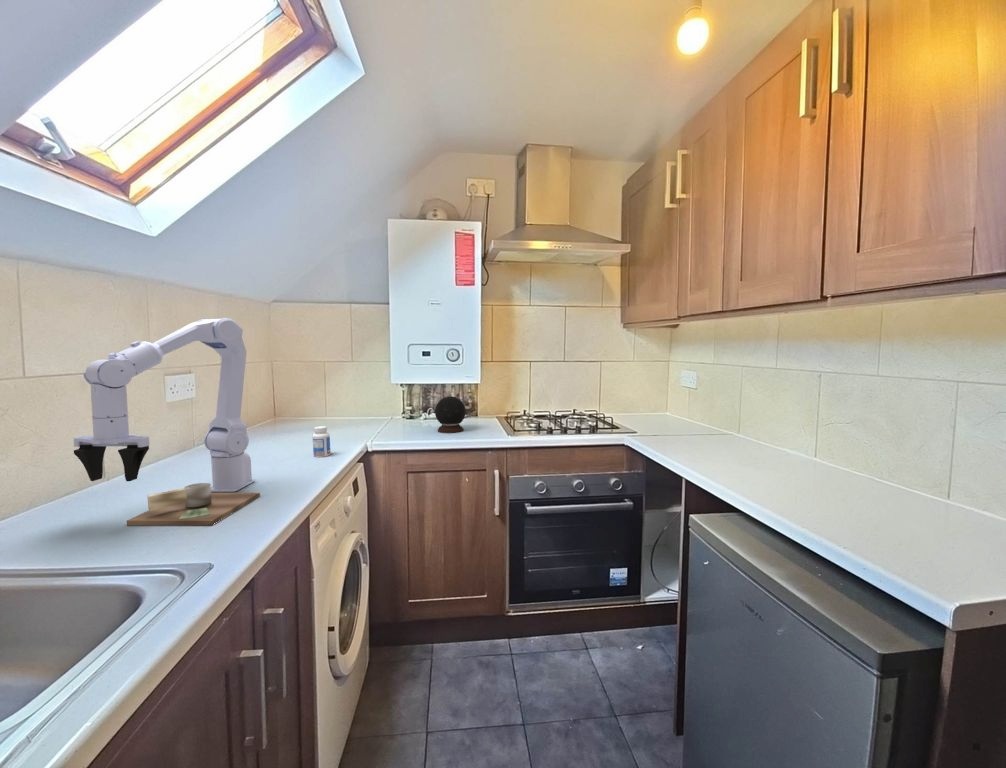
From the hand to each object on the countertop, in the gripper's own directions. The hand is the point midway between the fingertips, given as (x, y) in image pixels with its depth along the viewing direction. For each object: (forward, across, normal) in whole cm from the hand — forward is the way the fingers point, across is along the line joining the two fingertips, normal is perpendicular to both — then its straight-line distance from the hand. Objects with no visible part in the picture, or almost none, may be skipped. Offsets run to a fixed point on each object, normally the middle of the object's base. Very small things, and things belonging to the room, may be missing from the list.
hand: (113, 479), depth 97 cm
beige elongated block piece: (+7, +11, +4) cm, 14 cm away
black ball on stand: (+7, +59, +101) cm, 117 cm away
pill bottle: (+8, +21, +58) cm, 62 cm away
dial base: (+9, +13, +6) cm, 17 cm away
